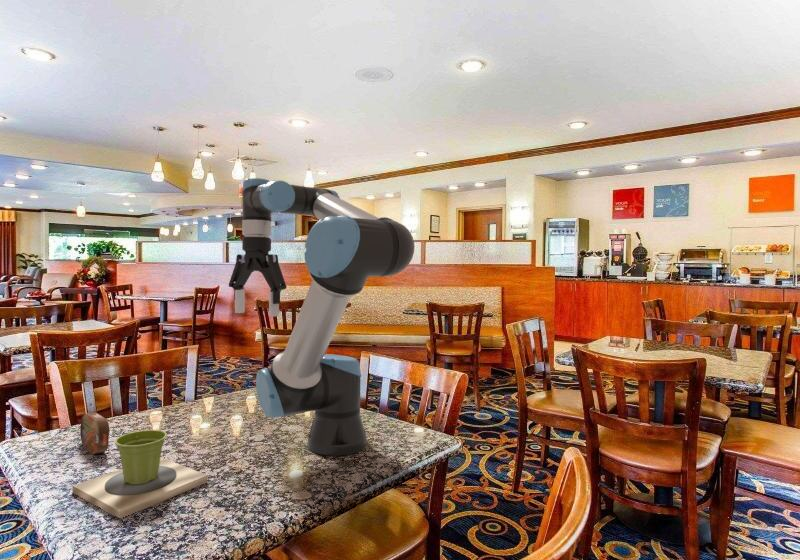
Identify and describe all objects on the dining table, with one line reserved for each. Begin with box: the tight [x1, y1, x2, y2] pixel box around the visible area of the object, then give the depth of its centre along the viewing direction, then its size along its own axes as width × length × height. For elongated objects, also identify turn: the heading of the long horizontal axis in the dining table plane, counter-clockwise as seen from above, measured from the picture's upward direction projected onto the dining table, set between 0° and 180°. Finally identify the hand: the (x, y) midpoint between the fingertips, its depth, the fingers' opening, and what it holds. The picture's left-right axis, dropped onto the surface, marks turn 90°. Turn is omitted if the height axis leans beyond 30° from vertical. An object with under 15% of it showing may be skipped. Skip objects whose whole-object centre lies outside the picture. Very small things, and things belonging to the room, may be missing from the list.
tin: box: [79, 412, 110, 455], centre depth 119 cm, size 15×3×8 cm, turn 47°
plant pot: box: [114, 429, 168, 485], centre depth 99 cm, size 9×9×9 cm
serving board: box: [71, 456, 208, 519], centre depth 99 cm, size 18×18×2 cm
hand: (256, 314), depth 131 cm, fingers open, 13 cm apart
